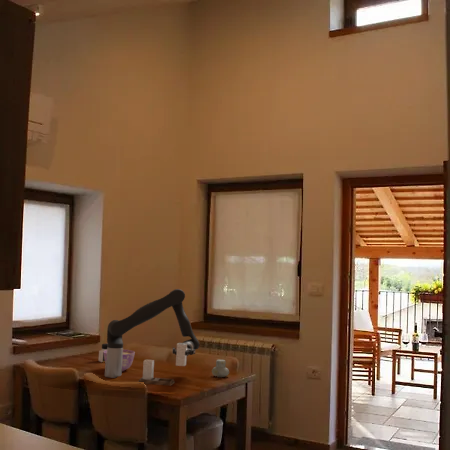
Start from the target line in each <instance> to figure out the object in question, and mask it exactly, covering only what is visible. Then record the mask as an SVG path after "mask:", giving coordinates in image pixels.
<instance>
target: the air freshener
mask: <svg viewBox="0 0 450 450" xmlns="http://www.w3.org/2000/svg"><path fill="white" fill-rule="evenodd" d="M211 373H212V375H213V376H215V377H216V376H217V377H216V378H225V377H227V376H228V375H229V374H230V371H229V368H227V367H226V360H225V359H216V363H215V366H214V367H213V368H212V369H211Z"/></svg>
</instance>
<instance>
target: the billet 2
mask: <svg viewBox="0 0 450 450" xmlns="http://www.w3.org/2000/svg"><path fill="white" fill-rule="evenodd" d="M176 349H177V354H176V355H175V356H176V357H175V366H176V367H178V366H179V367H186V366H187V357H188V356H187V355H186V356H185V351H187V343H183V342H178V343H176Z"/></svg>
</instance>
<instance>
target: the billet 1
mask: <svg viewBox="0 0 450 450" xmlns="http://www.w3.org/2000/svg"><path fill="white" fill-rule="evenodd" d="M142 363H143V364H142V365H143V367H142V377H143V380H151V381H153V378H154V369H155V359H144V360H143V362H142Z"/></svg>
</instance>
